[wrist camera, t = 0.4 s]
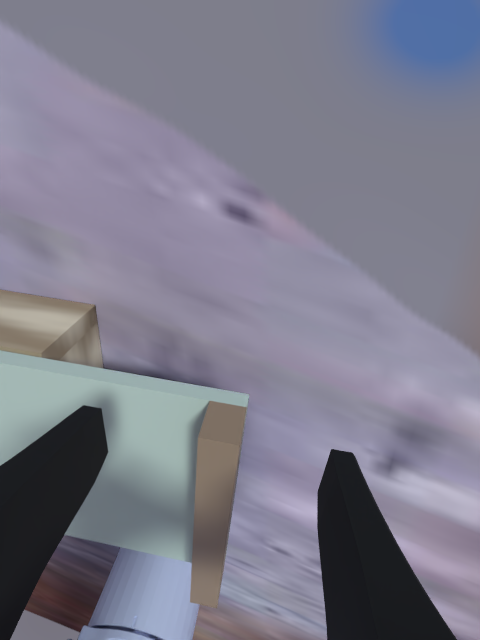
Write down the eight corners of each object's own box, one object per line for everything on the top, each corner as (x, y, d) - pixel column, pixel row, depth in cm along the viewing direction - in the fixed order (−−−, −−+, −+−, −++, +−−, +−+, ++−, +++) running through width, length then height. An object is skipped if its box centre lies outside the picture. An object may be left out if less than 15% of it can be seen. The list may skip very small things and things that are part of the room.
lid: (225, 556, 22) (216, 608, 20) (-4, 506, 24) (-38, 549, 21) (249, 394, 15) (240, 445, 13) (-81, 336, 17) (-145, 372, 14)
